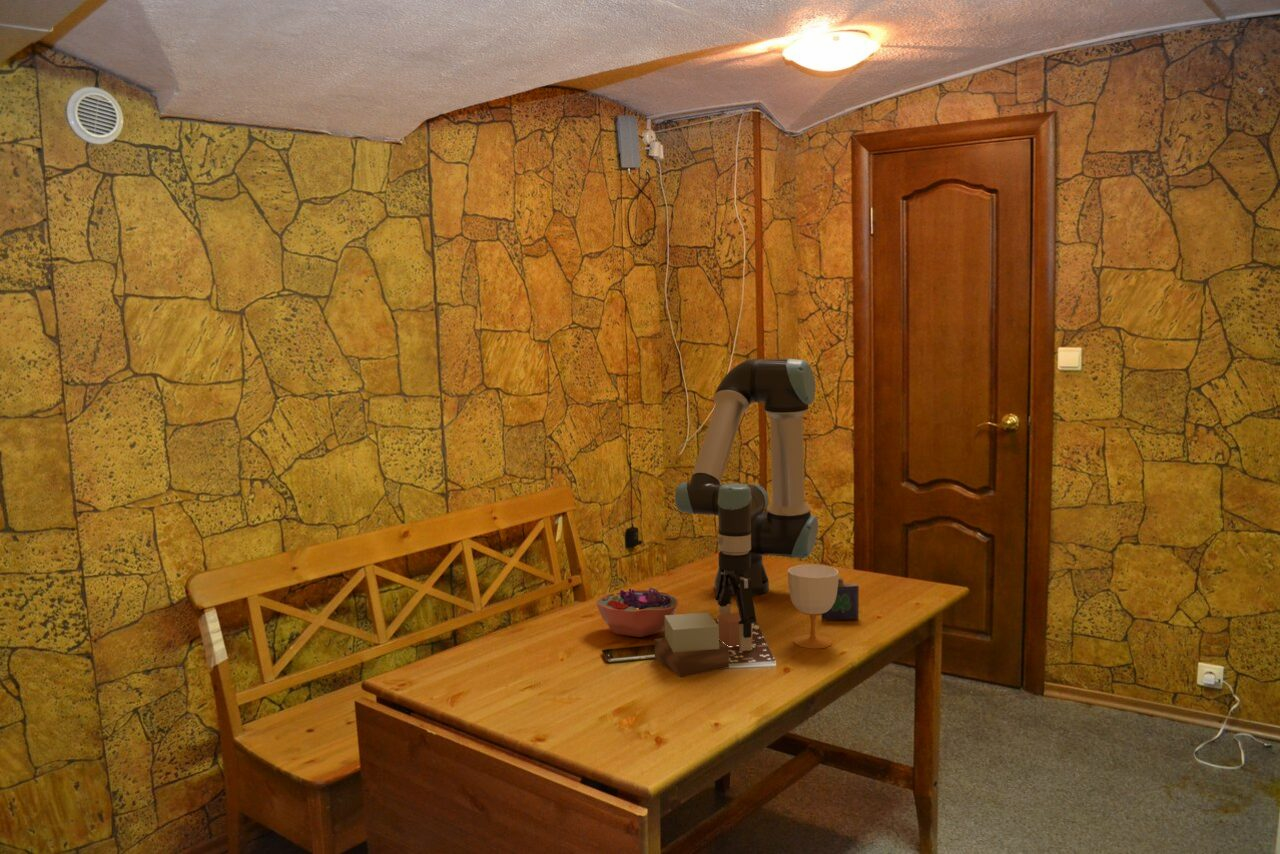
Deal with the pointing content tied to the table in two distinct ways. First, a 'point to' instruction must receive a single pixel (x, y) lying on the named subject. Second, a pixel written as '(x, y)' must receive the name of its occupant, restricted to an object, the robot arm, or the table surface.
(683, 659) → the tower base
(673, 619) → the tower top
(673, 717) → the table surface
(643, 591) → the cell model
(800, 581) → the cup
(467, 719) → the table surface
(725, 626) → the block
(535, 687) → the table surface
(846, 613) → the flask
